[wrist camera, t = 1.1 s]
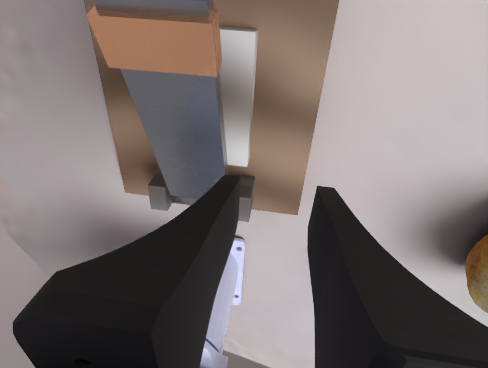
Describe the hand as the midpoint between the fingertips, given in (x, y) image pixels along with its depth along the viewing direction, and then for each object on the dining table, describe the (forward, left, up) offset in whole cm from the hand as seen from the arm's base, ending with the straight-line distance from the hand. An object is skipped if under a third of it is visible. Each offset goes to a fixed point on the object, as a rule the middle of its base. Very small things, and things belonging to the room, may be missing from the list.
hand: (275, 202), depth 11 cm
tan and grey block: (0, +5, -5) cm, 7 cm away
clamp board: (+1, +5, -10) cm, 12 cm away
